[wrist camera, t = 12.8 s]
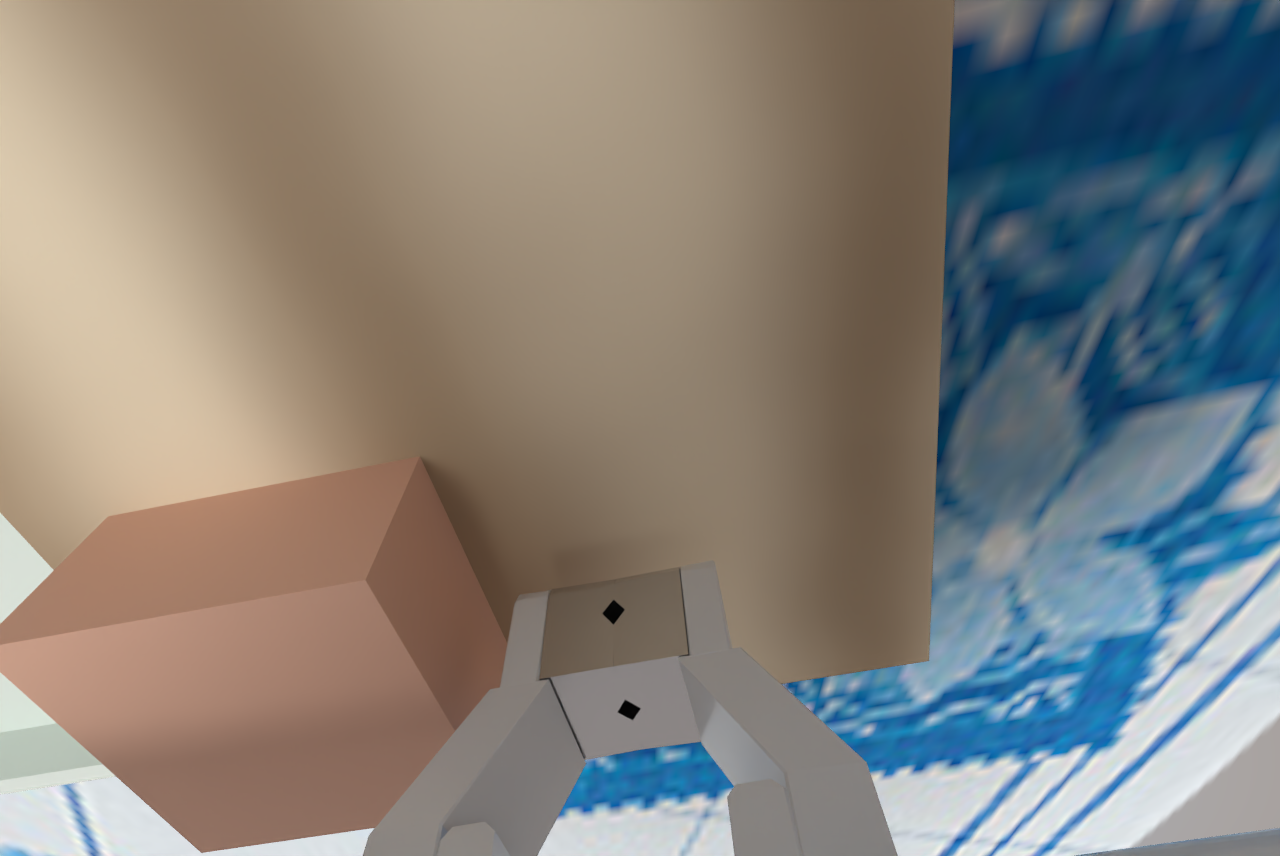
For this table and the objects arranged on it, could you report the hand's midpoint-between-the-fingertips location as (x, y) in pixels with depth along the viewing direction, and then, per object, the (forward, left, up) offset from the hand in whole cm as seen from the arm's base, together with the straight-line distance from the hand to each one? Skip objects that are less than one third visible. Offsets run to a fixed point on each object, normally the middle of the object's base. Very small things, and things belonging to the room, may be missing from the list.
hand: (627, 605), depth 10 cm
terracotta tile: (+5, 0, -1) cm, 5 cm away
